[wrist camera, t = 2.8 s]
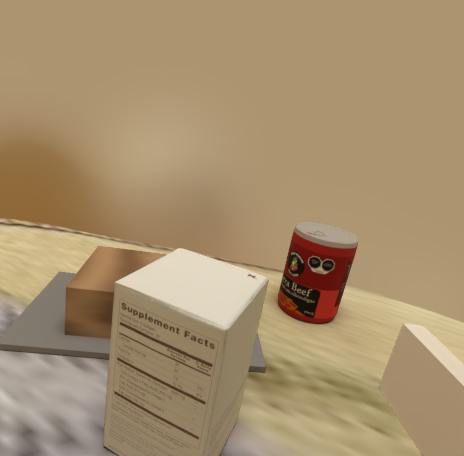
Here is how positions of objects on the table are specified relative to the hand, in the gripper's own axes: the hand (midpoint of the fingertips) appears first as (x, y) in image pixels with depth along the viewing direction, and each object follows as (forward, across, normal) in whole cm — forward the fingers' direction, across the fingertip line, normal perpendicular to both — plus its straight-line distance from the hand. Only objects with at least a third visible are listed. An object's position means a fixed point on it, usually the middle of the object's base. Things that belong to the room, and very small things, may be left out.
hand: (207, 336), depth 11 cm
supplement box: (+10, 0, +16) cm, 18 cm away
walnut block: (+24, +6, +15) cm, 29 cm away
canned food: (+30, -16, +15) cm, 37 cm away
